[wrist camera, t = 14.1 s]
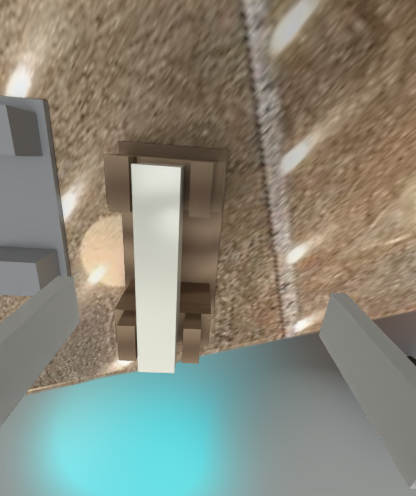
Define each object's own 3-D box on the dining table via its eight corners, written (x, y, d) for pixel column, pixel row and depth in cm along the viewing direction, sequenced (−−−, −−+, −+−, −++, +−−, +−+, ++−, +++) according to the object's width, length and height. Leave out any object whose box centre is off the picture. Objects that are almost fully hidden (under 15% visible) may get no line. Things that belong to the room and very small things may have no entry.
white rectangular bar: (144, 162, 25) (131, 163, 20) (184, 165, 25) (180, 167, 20) (147, 340, 32) (138, 371, 27) (178, 341, 32) (174, 373, 28)
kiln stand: (-36, 94, 30) (-91, 80, 25) (47, 101, 31) (12, 89, 25) (8, 281, 39) (-25, 302, 34) (72, 285, 40) (50, 306, 34)
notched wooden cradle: (122, 141, 33) (76, 133, 21) (227, 150, 33) (240, 146, 21) (129, 309, 42) (100, 369, 30) (212, 313, 42) (216, 373, 30)
